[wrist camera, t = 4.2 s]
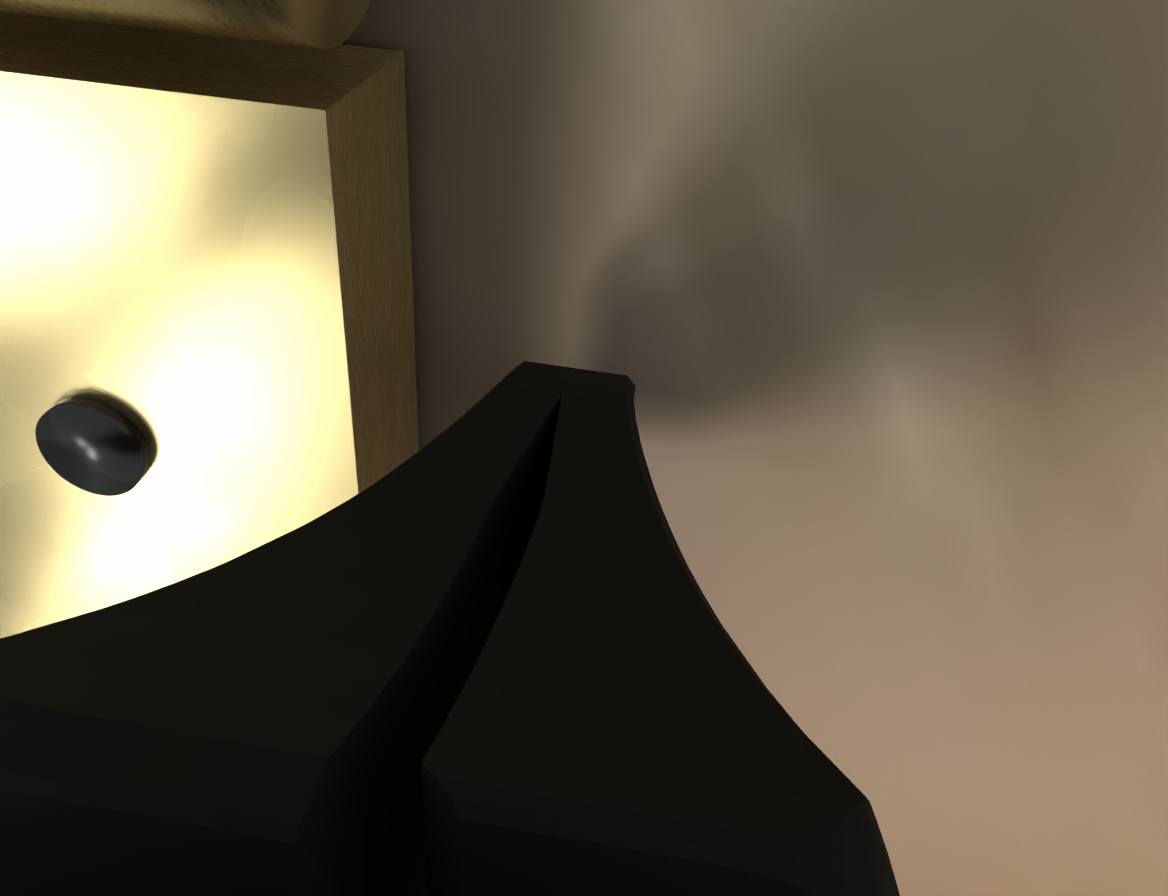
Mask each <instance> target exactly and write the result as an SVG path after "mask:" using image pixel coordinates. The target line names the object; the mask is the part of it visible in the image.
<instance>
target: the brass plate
mask: <svg viewBox="0 0 1168 896" xmlns="http://www.w3.org/2000/svg"><path fill="white" fill-rule="evenodd" d="M369 2H370V0H0V638H4V637H8V636H11V635H14V634H18V633H21V632H25V631H28V630H31V629H35V628H38V627H42V626H45V625H48V624H52V623H55V622H59V621H62V620H65V619H69V618H72V617H76V616H79V615H82V614H86V613H89V612H93V611H96V610H99V609H102V608H105V607H108V606H111V605H114V604H117V603H120V602H123V601H126V600H129V599H132V598H135V597H138V596H141V595H143V594H146V593H149V592H152V591H154V590H157V589H160V588H163V587H165V586H168V585H171V584H174V583H176V582H179V581H181V580H184V579H186V578H189V577H191V576H194V575H196V574H199V573H201V572H204V571H206V570H209V569H211V568H214V567H216V566H218V565H221V564H223V563H225V562H228V561H230V560H232V559H234V558H236V557H238V556H240V555H243V554H245V553H247V552H249V551H251V550H253V549H255V548H257V547H259V546H262V545H264V544H266V543H268V542H270V541H272V540H274V539H276V538H278V537H280V536H283V535H285V534H287V533H289V532H291V531H293V530H295V529H297V528H299V527H301V526H303V525H305V524H307V523H309V522H311V521H312V520H314V519H316V518H318V517H320V516H321V515H323V514H325V513H327V512H328V511H330V510H332V509H334V508H335V507H337V506H339V505H340V504H342V503H344V502H346V501H347V500H349V499H351V498H352V497H354V496H356V495H357V494H359V493H360V492H362V491H363V490H365V489H366V488H368V487H369V486H371V485H372V484H374V483H375V482H377V481H378V480H380V479H381V478H382V477H384V476H385V475H387V474H388V473H389V472H391V471H392V470H393V469H395V468H396V467H398V466H399V465H400V464H402V463H403V462H404V461H406V460H407V459H409V458H410V457H411V456H413V455H414V454H416V453H417V452H418V451H419V436H418V410H417V383H416V356H415V329H414V302H413V275H412V248H411V222H410V195H409V168H408V141H407V114H406V87H405V60H404V51H398V50H389V49H381V48H372V47H363V46H354V45H346V44H342V43H343V42H344V41H346V40H347V39H348V38H349V37H350V36H351V35H352V34H353V32H354V31H355V30H356V28H357V27H358V25H359V23H360V22H361V20H362V18H363V16H364V14H365V12H366V9H367V7H368V5H369Z"/></svg>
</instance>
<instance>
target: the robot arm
mask: <svg viewBox="0 0 1168 896" xmlns="http://www.w3.org/2000/svg"><path fill="white" fill-rule="evenodd" d="M634 393H635V385H634V384H633V382H632V381H631V380H630V379H629V377H628V376H626V375H619V374H612V373H605V372H597V371H590V370H583V369H576V368H569V367H562V366H555V365H548V364H541V363H534V362H527V361H524V362H523V363H522V364H520V365H519V366H517V367H516V368H515V369H514V370H513V371H511V372H510V373H509V374H508V375H507V376H506V377H505V378H504V379H503V380H502V381H501V382H499V383H498V384H497V385H496V386H495V387H494V388H493V389H492V390H491V391H490V392H489V393H488V394H486V395H485V396H484V397H483V398H482V399H481V400H480V401H479V402H477V403H476V404H475V405H474V406H473V407H472V408H471V409H470V410H468V411H467V412H466V413H465V414H464V415H463V416H461V417H460V418H459V419H458V420H457V421H455V422H454V423H453V424H452V425H451V426H449V427H448V428H447V429H446V430H444V431H443V432H442V433H441V434H440V435H438V436H437V437H436V438H435V439H434V440H432V441H431V442H430V443H429V444H427V445H426V446H425V447H424V448H422V449H421V450H420V451H418V452H417V453H416V454H414V455H413V456H411V457H410V458H409V459H407V460H406V461H404V462H403V463H402V464H400V465H399V466H398V467H396V468H395V469H393V470H392V471H391V472H389V473H388V474H387V475H385V476H384V477H382V478H381V479H380V480H378V481H377V482H375V483H374V484H372V485H371V486H369V487H368V488H366V489H365V490H363V491H362V492H360V493H359V494H357V495H356V496H354V497H352V498H351V499H349V500H347V501H346V502H344V503H342V504H340V505H339V506H337V507H335V508H334V509H332V510H330V511H328V512H327V513H325V514H323V515H321V516H320V517H318V518H316V519H314V520H312V521H311V522H309V523H307V524H305V525H303V526H301V527H299V528H297V529H295V530H293V531H291V532H289V533H287V534H285V535H283V536H280V537H278V538H276V539H274V540H272V541H270V542H268V543H266V544H264V545H262V546H259V547H257V548H255V549H253V550H251V551H249V552H247V553H245V554H243V555H240V556H238V557H236V558H234V559H232V560H230V561H228V562H225V563H223V564H221V565H218V566H216V567H214V568H211V569H209V570H206V571H204V572H201V573H199V574H196V575H194V576H191V577H189V578H186V579H184V580H181V581H179V582H176V583H174V584H171V585H168V586H165V587H163V588H160V589H157V590H154V591H152V592H149V593H146V594H143V595H141V596H138V597H135V598H132V599H129V600H126V601H123V602H120V603H117V604H114V605H111V606H108V607H105V608H102V609H99V610H96V611H93V612H89V613H86V614H82V615H79V616H76V617H72V618H69V619H65V620H62V621H59V622H55V623H52V624H48V625H45V626H42V627H38V628H35V629H31V630H28V631H25V632H21V633H18V634H14V635H11V636H8V637H4V638H0V896H900V895H899V891H898V887H897V883H896V880H895V877H894V873H893V870H892V866H891V863H890V859H889V856H888V853H887V850H886V847H885V844H884V841H883V838H882V835H881V832H880V829H879V826H878V823H877V820H876V818H875V815H874V812H873V810H872V807H871V804H870V802H869V800H868V799H867V798H866V797H865V795H864V794H863V793H862V792H861V791H860V790H859V789H858V788H857V787H856V786H855V785H854V784H853V783H852V782H851V781H850V780H849V779H848V778H847V777H846V776H845V775H844V774H843V773H842V772H841V771H840V770H839V769H838V768H837V767H836V766H835V765H834V764H833V763H832V761H831V760H830V759H829V758H828V757H827V756H826V755H825V754H824V753H823V752H822V751H821V750H820V749H819V748H818V747H817V746H816V745H815V744H814V743H813V742H812V741H811V740H810V739H809V738H808V737H807V736H806V735H805V734H804V732H803V731H802V730H801V729H800V728H799V727H798V725H797V724H796V723H795V722H794V721H793V719H792V718H791V717H790V716H789V714H788V713H787V712H786V711H785V710H784V708H783V707H782V706H781V705H780V704H779V702H778V701H777V700H776V699H775V697H774V696H773V695H772V694H771V693H770V691H769V690H768V689H767V688H766V686H765V685H764V683H763V682H762V681H761V679H760V678H759V676H758V675H757V674H756V672H755V671H754V669H753V668H752V667H751V665H750V664H749V662H748V661H747V660H746V658H745V657H744V655H743V654H742V653H741V651H740V650H739V648H738V647H737V646H736V644H735V643H734V641H733V640H732V639H731V637H730V636H729V634H728V633H727V632H726V630H725V629H724V627H723V626H722V624H721V623H720V621H719V619H718V618H717V616H716V614H715V613H714V611H713V609H712V608H711V606H710V604H709V603H708V601H707V599H706V598H705V596H704V594H703V593H702V591H701V589H700V587H699V586H698V584H697V582H696V580H695V578H694V576H693V575H692V573H691V571H690V569H689V567H688V565H687V563H686V561H685V559H684V557H683V555H682V553H681V551H680V549H679V547H678V545H677V543H676V540H675V538H674V536H673V534H672V532H671V529H670V527H669V524H668V522H667V520H666V517H665V515H664V512H663V510H662V508H661V505H660V502H659V500H658V497H657V494H656V492H655V489H654V486H653V483H652V480H651V476H650V473H649V470H648V467H647V463H646V460H645V457H644V454H643V450H642V446H641V442H640V438H639V433H638V428H637V423H636V417H635V409H634Z"/></svg>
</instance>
